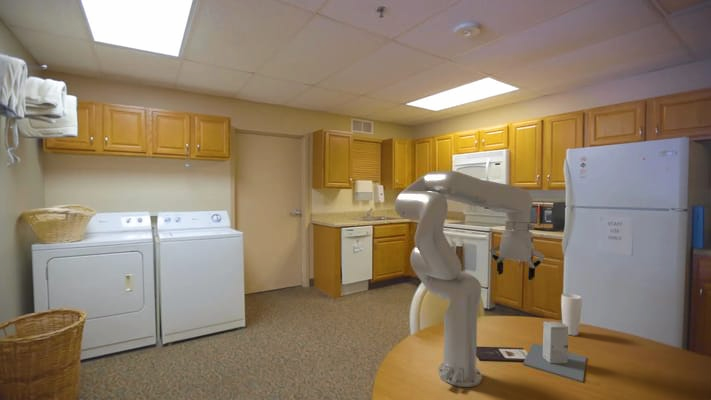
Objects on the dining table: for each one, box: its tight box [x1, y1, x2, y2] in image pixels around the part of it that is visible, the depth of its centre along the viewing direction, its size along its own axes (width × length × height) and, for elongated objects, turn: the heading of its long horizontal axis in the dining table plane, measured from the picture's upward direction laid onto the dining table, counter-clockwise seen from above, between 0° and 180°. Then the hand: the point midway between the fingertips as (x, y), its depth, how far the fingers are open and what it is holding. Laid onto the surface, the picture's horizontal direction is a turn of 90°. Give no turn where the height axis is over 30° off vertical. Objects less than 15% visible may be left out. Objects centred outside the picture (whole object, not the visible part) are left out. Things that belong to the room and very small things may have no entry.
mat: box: [522, 342, 587, 383], centre depth 108 cm, size 18×16×1 cm
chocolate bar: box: [476, 345, 528, 363], centre depth 113 cm, size 9×1×18 cm
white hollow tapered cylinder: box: [560, 293, 583, 337], centre depth 130 cm, size 7×7×15 cm
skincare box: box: [542, 321, 569, 363], centre depth 108 cm, size 6×4×12 cm
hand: (515, 276), depth 113 cm, fingers open, 9 cm apart
